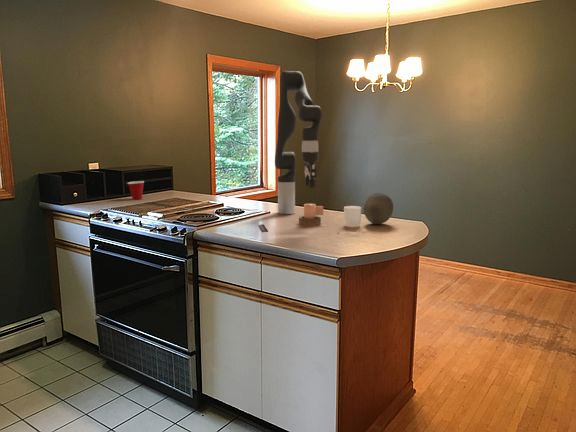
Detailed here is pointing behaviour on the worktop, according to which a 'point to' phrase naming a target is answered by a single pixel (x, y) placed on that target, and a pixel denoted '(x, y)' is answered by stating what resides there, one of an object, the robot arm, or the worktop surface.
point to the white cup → (352, 216)
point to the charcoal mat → (263, 228)
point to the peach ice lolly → (312, 211)
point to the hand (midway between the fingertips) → (309, 186)
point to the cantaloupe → (378, 208)
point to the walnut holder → (309, 222)
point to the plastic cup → (136, 189)
